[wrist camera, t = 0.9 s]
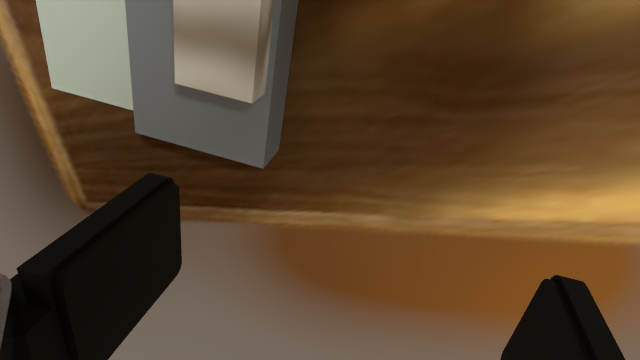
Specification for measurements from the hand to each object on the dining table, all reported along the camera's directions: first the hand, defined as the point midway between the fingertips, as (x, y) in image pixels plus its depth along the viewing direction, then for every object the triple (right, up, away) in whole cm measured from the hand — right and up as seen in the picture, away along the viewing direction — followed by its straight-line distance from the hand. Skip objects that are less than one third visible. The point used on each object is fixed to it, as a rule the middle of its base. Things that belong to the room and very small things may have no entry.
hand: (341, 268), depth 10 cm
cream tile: (-7, +13, +18) cm, 23 cm away
